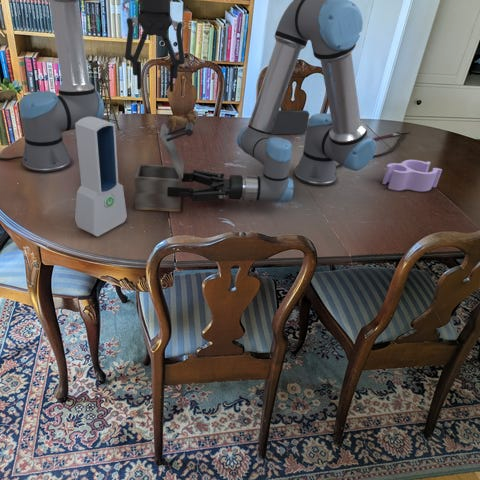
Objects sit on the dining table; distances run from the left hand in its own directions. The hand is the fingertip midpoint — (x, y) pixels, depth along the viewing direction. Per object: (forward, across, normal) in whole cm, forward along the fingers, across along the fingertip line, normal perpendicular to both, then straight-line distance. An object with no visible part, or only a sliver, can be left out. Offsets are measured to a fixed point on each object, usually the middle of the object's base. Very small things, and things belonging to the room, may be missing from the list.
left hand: (155, 89), depth 125 cm
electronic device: (+35, -14, -14) cm, 40 cm away
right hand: (+28, +4, 0) cm, 28 cm away
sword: (+35, +100, +73) cm, 128 cm away
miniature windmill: (+35, -25, +58) cm, 72 cm away
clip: (+35, +90, +24) cm, 100 cm away
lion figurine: (+35, +5, +63) cm, 72 cm away
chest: (+35, +1, 0) cm, 35 cm away
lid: (+18, +4, 0) cm, 18 cm away
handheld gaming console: (+35, +49, +69) cm, 92 cm away
